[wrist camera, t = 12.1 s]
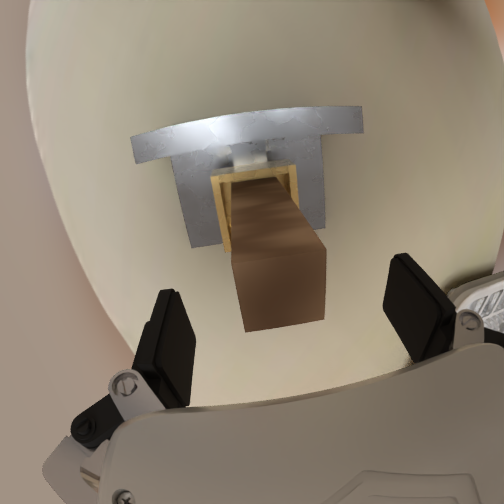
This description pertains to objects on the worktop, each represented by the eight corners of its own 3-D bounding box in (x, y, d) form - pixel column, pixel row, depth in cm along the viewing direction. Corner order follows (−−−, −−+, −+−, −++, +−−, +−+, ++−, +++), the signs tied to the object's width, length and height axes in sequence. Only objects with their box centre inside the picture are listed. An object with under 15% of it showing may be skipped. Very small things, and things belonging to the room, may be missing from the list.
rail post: (275, 176, 23) (326, 249, 11) (279, 217, 25) (324, 319, 13) (231, 182, 23) (231, 263, 11) (237, 223, 25) (245, 332, 13)
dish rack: (389, 390, 56) (399, 414, 49) (436, 270, 38) (462, 297, 31) (470, 356, 56) (481, 373, 49) (517, 250, 39) (538, 267, 32)
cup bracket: (314, 108, 26) (361, 106, 16) (322, 224, 33) (360, 275, 22) (167, 128, 26) (130, 137, 16) (192, 243, 33) (177, 304, 22)
